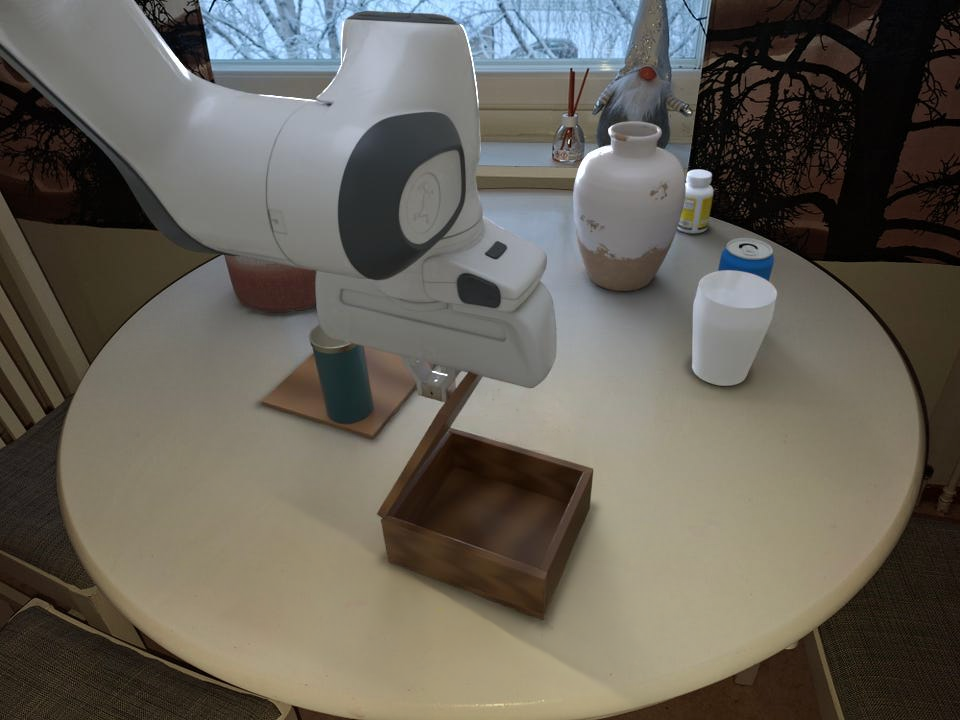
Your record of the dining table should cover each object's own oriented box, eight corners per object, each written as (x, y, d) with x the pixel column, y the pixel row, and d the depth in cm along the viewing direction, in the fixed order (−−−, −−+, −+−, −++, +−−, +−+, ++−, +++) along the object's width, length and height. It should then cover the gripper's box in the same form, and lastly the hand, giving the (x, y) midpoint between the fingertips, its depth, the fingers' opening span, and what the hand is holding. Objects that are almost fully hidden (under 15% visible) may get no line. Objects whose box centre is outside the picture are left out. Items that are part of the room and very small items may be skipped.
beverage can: (752, 314, 96) (771, 237, 89) (759, 340, 91) (780, 261, 84) (705, 311, 97) (720, 235, 90) (709, 337, 92) (726, 258, 85)
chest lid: (518, 320, 59) (511, 315, 59) (448, 416, 49) (439, 410, 49) (451, 424, 70) (445, 420, 70) (383, 519, 60) (376, 514, 60)
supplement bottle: (704, 221, 121) (714, 167, 115) (709, 234, 116) (719, 180, 110) (673, 220, 121) (681, 167, 115) (676, 234, 117) (685, 179, 111)
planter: (279, 253, 116) (258, 163, 106) (371, 269, 110) (358, 175, 101) (211, 306, 102) (181, 208, 93) (312, 326, 97) (290, 225, 88)
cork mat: (373, 439, 78) (372, 435, 77) (262, 404, 83) (261, 401, 83) (457, 338, 94) (457, 334, 93) (359, 314, 99) (359, 311, 99)
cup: (679, 348, 90) (692, 268, 83) (749, 351, 89) (769, 271, 82) (686, 390, 83) (701, 307, 76) (763, 395, 82) (786, 311, 75)
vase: (550, 284, 104) (556, 136, 91) (595, 243, 115) (606, 105, 101) (648, 313, 97) (669, 156, 84) (686, 266, 108) (711, 121, 94)
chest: (589, 508, 68) (593, 468, 65) (542, 620, 59) (544, 579, 55) (451, 465, 74) (448, 426, 70) (387, 561, 64) (380, 520, 61)
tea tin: (357, 430, 78) (342, 352, 72) (316, 417, 80) (298, 341, 74) (383, 400, 82) (372, 324, 76) (343, 388, 84) (329, 314, 78)
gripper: (284, 246, 51) (316, 388, 60) (537, 297, 44) (533, 450, 53) (331, 213, 56) (355, 349, 64) (567, 255, 49) (560, 402, 57)
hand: (437, 395), depth 58 cm, fingers closed
